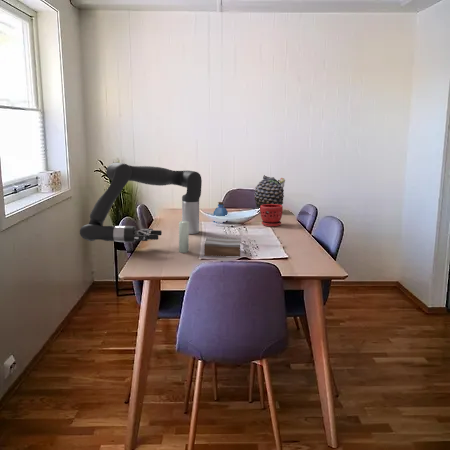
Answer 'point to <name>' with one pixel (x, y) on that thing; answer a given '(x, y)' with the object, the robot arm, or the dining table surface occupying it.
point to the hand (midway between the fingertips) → (159, 235)
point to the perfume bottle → (220, 210)
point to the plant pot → (271, 214)
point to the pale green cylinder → (183, 236)
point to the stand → (222, 247)
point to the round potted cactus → (269, 192)
